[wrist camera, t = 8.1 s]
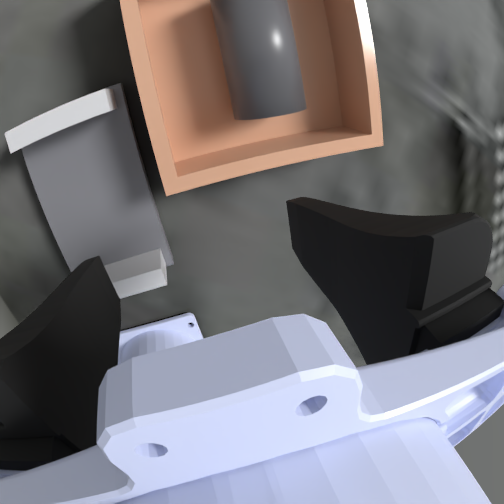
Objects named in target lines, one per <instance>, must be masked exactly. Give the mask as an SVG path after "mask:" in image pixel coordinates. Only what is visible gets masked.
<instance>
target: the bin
mask: <svg viewBox="0 0 504 504" xmlns="http://www.w3.org/2000/svg"><path fill="white" fill-rule="evenodd" d="M287 2H288V7H289V11H290V16H291V21H292V26H293V31H294V36H295V41H296V47H297V52H298V58H299V63H300V69H301V75H302V81H303V87H304V93H305V100H306V106H307V109H305V110H303V111H300V112H296V113H292V114H287V115H282V116H276V117H270V118H262V119H253V120H235V119H234V114H233V109H232V104H231V100H230V95H229V90H228V85H227V80H226V75H225V71H224V66H223V61H222V56H221V52H220V47H219V42H218V37H217V33H216V28H215V23H214V19H213V14H212V9H211V5H210V0H120V5H121V11H122V16H123V21H124V27H125V32H126V37H127V42H128V47H129V51H130V56H131V61H132V65H133V70H134V74H135V79H136V83H137V87H138V92H139V96H140V100H141V104H142V108H143V112H144V116H145V120H146V124H147V128H148V132H149V136H150V139H151V143H152V147H153V151H154V154H155V158H156V162H157V165H158V169H159V172H160V176H161V179H162V183H163V186H164V190H165V193H166V196H169V195H172V194H176V193H179V192H183V191H186V190H190V189H193V188H197V187H200V186H204V185H208V184H211V183H215V182H219V181H222V180H226V179H230V178H234V177H238V176H242V175H246V174H250V173H254V172H258V171H262V170H266V169H270V168H275V167H279V166H283V165H288V164H292V163H297V162H301V161H306V160H310V159H315V158H320V157H325V156H330V155H335V154H340V153H345V152H350V151H356V150H361V149H367V148H372V147H378V146H383V131H382V116H381V104H380V93H379V84H378V75H377V67H376V59H375V52H374V45H373V39H372V32H371V26H370V21H369V15H368V10H367V5H366V0H287Z"/></svg>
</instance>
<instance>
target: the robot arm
mask: <svg viewBox="0 0 504 504" xmlns="http://www.w3.org/2000/svg"><path fill="white" fill-rule="evenodd" d="M286 203H287V210H288V217H289V225H290V232H291V240H292V248H293V250H294V252H295V253H296V255H297V257H298V259H299V261H300V262H301V264H302V266H303V267H304V269H305V270H306V271H307V272H308V274H309V275H310V276H311V278H312V279H313V280H314V281H315V283H316V284H317V285H318V286H319V288H320V289H321V290H322V291H323V293H324V294H325V295H326V296H327V298H328V299H329V300H330V302H331V303H332V304H333V306H334V307H335V308H336V310H337V311H338V313H339V314H340V316H341V318H342V319H343V321H344V323H345V325H346V326H347V328H348V330H349V331H350V333H351V335H352V337H353V339H354V341H355V342H356V344H357V346H358V348H359V350H360V352H361V354H362V356H363V358H364V360H365V362H366V364H367V365H365V366H360V367H355V366H354V364H353V363H352V361H351V360H350V358H349V357H348V355H347V354H346V352H345V351H344V349H343V348H342V346H341V345H340V343H339V342H338V340H337V339H336V337H335V336H334V334H333V333H332V331H331V330H330V328H329V327H328V325H327V324H326V323H325V322H323V321H320V320H318V319H315V318H313V317H310V316H308V315H305V314H298V315H290V316H282V317H274V318H269V319H266V320H263V321H260V322H257V323H254V324H251V325H247V326H244V327H241V328H238V329H234V330H231V331H228V332H225V333H221V334H218V335H214V336H211V337H208V338H204V339H203V336H202V334H201V331H200V329H199V326H198V323H197V321H196V318H195V316H194V314H192V313H185V314H182V315H178V316H175V317H171V318H168V319H164V320H161V321H157V322H153V323H150V324H146V325H142V326H139V327H135V328H131V329H128V330H124V331H120V327H121V309H120V298H119V296H118V294H117V292H116V290H115V288H114V286H113V284H112V282H111V280H110V278H109V275H108V273H107V271H106V269H105V267H104V265H103V262H102V260H101V258H100V256H96V257H93V258H90V259H87V260H85V261H83V262H82V263H81V264H80V265H78V266H77V267H76V268H75V269H74V270H73V271H72V272H71V273H70V275H69V276H68V277H67V278H66V279H65V280H64V281H63V282H62V283H61V284H60V285H59V286H58V287H57V289H56V290H55V291H54V292H53V293H52V294H51V295H50V296H49V297H48V298H47V299H46V300H45V301H44V302H43V303H42V304H41V305H40V306H39V307H38V308H37V309H36V310H35V311H34V312H33V313H32V314H31V315H29V316H28V317H27V318H26V319H25V320H24V321H23V322H22V323H20V324H19V325H18V326H16V327H15V328H14V329H13V330H11V331H10V332H9V333H7V334H6V335H5V336H4V337H2V338H1V339H0V504H491V502H490V501H489V499H488V498H487V496H486V495H485V493H484V492H483V490H482V489H481V487H480V486H479V484H478V483H477V481H476V480H475V478H474V477H473V475H472V474H471V472H470V471H469V469H468V468H467V466H466V465H465V463H464V462H463V460H462V459H461V458H460V456H459V455H458V453H457V452H456V451H455V449H454V448H453V447H454V446H455V445H457V444H458V443H459V442H461V441H462V440H463V439H464V438H465V437H467V436H468V435H469V434H470V433H471V432H473V431H474V430H475V429H476V428H477V427H478V426H480V425H481V424H482V423H483V422H484V421H485V420H486V419H487V418H489V417H490V416H491V415H492V414H493V413H494V412H495V411H496V410H497V409H498V408H499V407H501V406H502V405H503V404H504V285H503V286H501V287H500V289H499V290H498V291H497V293H495V292H494V291H492V290H491V289H490V287H491V285H492V282H491V280H490V279H489V278H487V277H486V276H485V273H486V270H487V266H488V262H489V258H490V254H491V249H492V242H493V241H492V230H491V227H490V224H489V223H488V222H487V221H486V220H485V219H483V218H482V217H480V216H478V215H477V214H475V213H472V212H469V213H459V214H450V215H437V216H407V215H391V214H383V213H375V212H369V211H363V210H359V209H354V208H349V207H345V206H341V205H337V204H333V203H329V202H325V201H321V200H317V199H312V198H306V197H300V198H296V199H292V200H288V201H286ZM188 323H193V324H188Z"/></svg>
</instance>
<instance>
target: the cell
mask: <svg viewBox="0 0 504 504" xmlns="http://www.w3.org/2000/svg"><path fill="white" fill-rule="evenodd" d="M210 5H211V9H212V14H213V19H214V23H215V28H216V33H217V37H218V42H219V47H220V52H221V56H222V61H223V66H224V71H225V75H226V80H227V85H228V90H229V95H230V100H231V104H232V109H233V114H234V119H235V120H253V119H262V118H270V117H276V116H282V115H287V114H292V113H296V112H300V111H303V110H305V109H307V106H306V100H305V93H304V87H303V81H302V75H301V69H300V63H299V58H298V52H297V47H296V41H295V36H294V31H293V26H292V21H291V16H290V11H289V7H288V2H287V0H210Z"/></svg>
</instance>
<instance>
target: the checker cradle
mask: <svg viewBox="0 0 504 504" xmlns="http://www.w3.org/2000/svg"><path fill="white" fill-rule="evenodd" d="M5 136H6V140H7V143H8V147H9V150H10V153H13V152H15V151H17V150H19V149H21V150H22V153H23V156H24V159H25V162H26V165H27V168H28V171H29V174H30V177H31V180H32V182H33V185H34V188H35V190H36V193H37V196H38V198H39V201H40V203H41V206H42V209H43V211H44V213H45V216H46V218H47V221H48V223H49V225H50V228H51V230H52V232H53V235H54V237H55V239H56V241H57V243H58V246H59V248H60V250H61V252H62V254H63V256H64V258H65V260H66V263H67V265H68V267H69V269H70V271H71V272H72V271H73V270H74V269H75V268H76V267H77V266H78V265H80V264H81V263H82V262H83V261H85V260H87V259H90V258H93V257H96V256H100V258H101V260H102V262H103V265H104V267H105V269H106V271H107V273H108V275H109V278H110V280H111V282H112V284H113V286H114V288H115V290H116V292H117V294H118V296H119V298H124V297H127V296H131V295H134V294H138V293H141V292H144V291H148V290H151V289H155V288H158V287H162V286H165V285H167V274H166V266H169V265H173V264H174V261H173V255H172V253H171V250H170V247H169V244H168V241H167V238H166V235H165V232H164V229H163V226H162V223H161V220H160V217H159V213H158V210H157V207H156V204H155V201H154V198H153V194H152V191H151V188H150V184H149V181H148V178H147V174H146V171H145V168H144V164H143V161H142V157H141V154H140V150H139V146H138V143H137V139H136V135H135V132H134V128H133V124H132V120H131V116H130V113H129V109H128V105H127V101H126V96H125V92H124V88H123V84H122V83H119V84H116V85H113V86H110V87H107V88H104V89H101V90H99V91H96V92H93V93H90V94H88V95H85V96H83V97H80V98H78V99H75V100H73V101H70V102H68V103H65V104H63V105H61V106H58V107H56V108H54V109H52V110H49V111H47V112H45V113H43V114H41V115H38V116H36V117H34V118H32V119H30V120H28V121H26V122H24V123H22V124H20V125H18V126H16V127H15V128H13V129H11V130H9V131H8V132H6V133H5Z"/></svg>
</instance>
